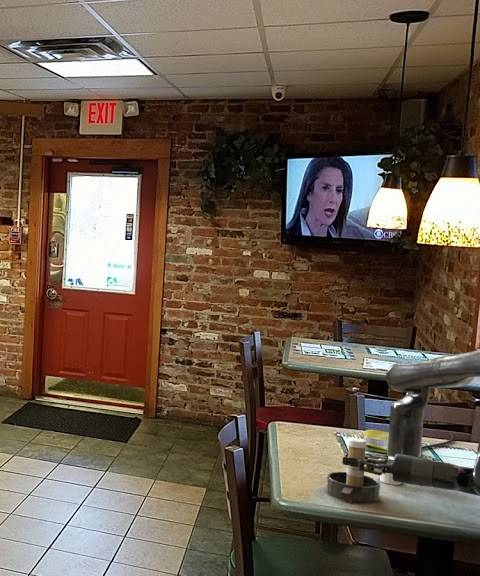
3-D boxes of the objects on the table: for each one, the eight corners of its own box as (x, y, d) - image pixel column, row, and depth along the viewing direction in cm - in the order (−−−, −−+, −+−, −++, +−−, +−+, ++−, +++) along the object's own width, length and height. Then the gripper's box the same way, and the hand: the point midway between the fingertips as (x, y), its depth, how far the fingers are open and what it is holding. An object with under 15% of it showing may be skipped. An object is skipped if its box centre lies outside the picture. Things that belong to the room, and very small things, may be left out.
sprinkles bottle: (343, 486, 215) (346, 439, 214) (347, 482, 219) (350, 436, 218) (361, 490, 212) (364, 442, 211) (365, 486, 216) (368, 439, 215)
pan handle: (344, 499, 212) (345, 486, 211) (352, 501, 210) (353, 488, 210) (339, 506, 207) (340, 492, 206) (348, 508, 205) (349, 493, 205)
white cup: (394, 486, 224) (396, 463, 224) (372, 479, 230) (374, 456, 230) (408, 483, 227) (410, 460, 227) (386, 476, 234) (388, 454, 233)
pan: (331, 483, 225) (332, 468, 225) (382, 494, 217) (383, 478, 217) (322, 495, 214) (323, 480, 214) (374, 507, 207) (376, 490, 206)
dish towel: (362, 450, 261) (362, 442, 261) (364, 434, 282) (364, 427, 282) (421, 459, 253) (422, 451, 252) (418, 442, 274) (419, 434, 274)
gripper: (417, 451, 212) (349, 440, 222) (412, 463, 201) (340, 450, 210) (415, 477, 213) (348, 465, 223) (410, 491, 201) (338, 477, 211)
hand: (344, 458), depth 217 cm, fingers closed on sprinkles bottle, 4 cm apart
